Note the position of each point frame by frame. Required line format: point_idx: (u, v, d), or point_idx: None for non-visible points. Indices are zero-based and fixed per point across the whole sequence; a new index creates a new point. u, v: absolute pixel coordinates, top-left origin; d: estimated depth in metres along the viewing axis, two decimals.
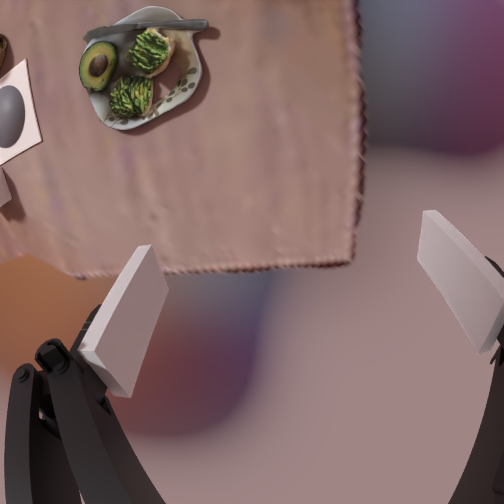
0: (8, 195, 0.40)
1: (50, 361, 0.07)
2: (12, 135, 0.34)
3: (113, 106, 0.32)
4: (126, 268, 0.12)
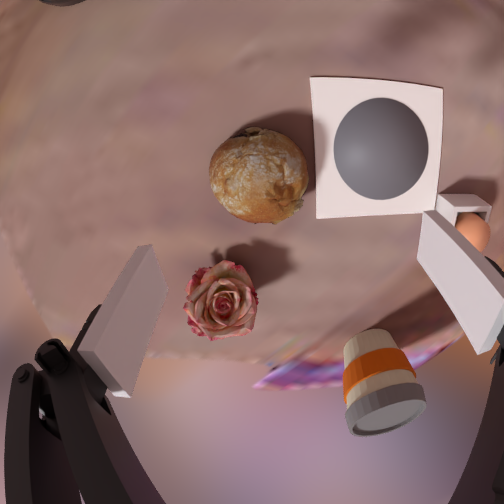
0: (473, 195, 0.30)
1: (50, 362, 0.07)
2: (417, 142, 0.27)
3: None
4: (126, 268, 0.12)
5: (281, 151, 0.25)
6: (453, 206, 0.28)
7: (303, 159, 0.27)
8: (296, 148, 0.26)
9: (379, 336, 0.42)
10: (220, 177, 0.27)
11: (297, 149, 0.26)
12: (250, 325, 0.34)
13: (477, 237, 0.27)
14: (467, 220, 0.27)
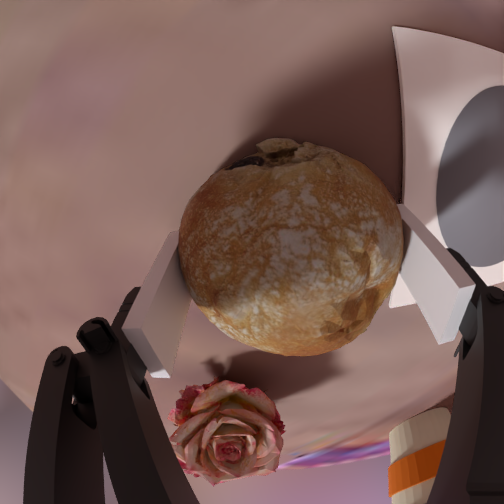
0: None
1: (93, 340, 0.08)
2: None
3: None
4: (162, 251, 0.12)
5: (364, 211, 0.09)
6: None
7: (401, 221, 0.10)
8: (390, 196, 0.10)
9: (438, 420, 0.25)
10: (201, 281, 0.10)
11: (391, 198, 0.10)
12: (273, 466, 0.18)
13: None
14: None
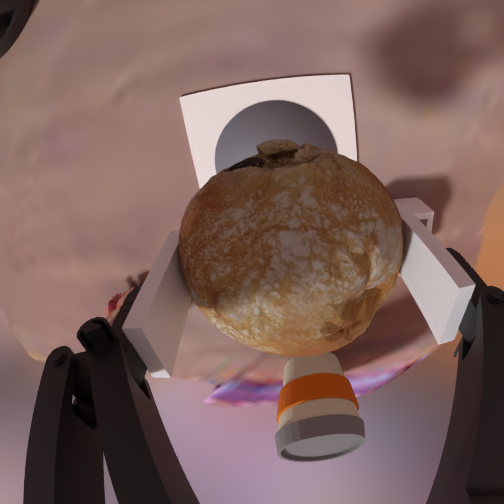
0: (412, 199, 0.28)
1: (93, 340, 0.08)
2: (320, 145, 0.26)
3: None
4: (162, 251, 0.12)
5: (364, 212, 0.09)
6: None
7: (401, 222, 0.11)
8: (389, 197, 0.10)
9: (317, 359, 0.40)
10: (202, 282, 0.10)
11: (391, 200, 0.10)
12: None
13: None
14: None
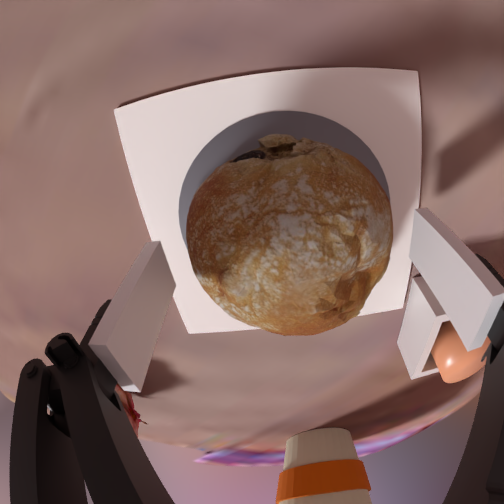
0: None
1: (61, 356, 0.07)
2: None
3: None
4: (135, 263, 0.12)
5: (355, 198, 0.10)
6: (435, 313, 0.15)
7: (391, 210, 0.12)
8: (379, 187, 0.11)
9: (326, 440, 0.29)
10: (208, 262, 0.12)
11: (381, 189, 0.11)
12: None
13: (473, 358, 0.14)
14: None
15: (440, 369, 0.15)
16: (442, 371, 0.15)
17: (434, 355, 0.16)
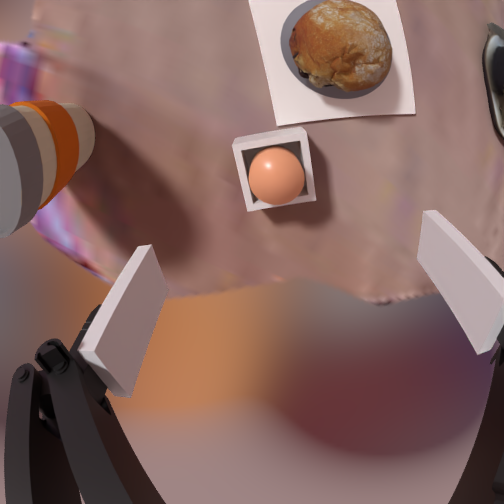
0: None
1: (50, 362, 0.07)
2: None
3: None
4: (126, 268, 0.12)
5: (387, 64, 0.20)
6: (306, 132, 0.25)
7: (372, 85, 0.22)
8: (382, 79, 0.22)
9: (87, 132, 0.27)
10: (355, 7, 0.17)
11: (381, 80, 0.22)
12: None
13: (280, 178, 0.25)
14: (295, 157, 0.25)
15: (266, 152, 0.25)
16: (267, 153, 0.24)
17: (265, 150, 0.26)
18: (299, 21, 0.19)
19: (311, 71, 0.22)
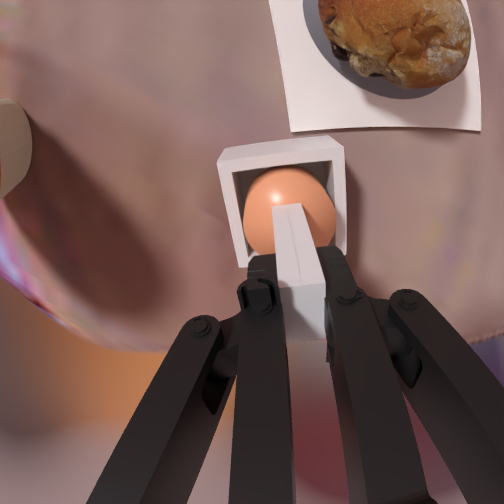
0: None
1: (254, 299, 0.08)
2: None
3: None
4: (276, 222, 0.13)
5: (468, 54, 0.10)
6: (342, 147, 0.15)
7: (443, 83, 0.12)
8: (457, 76, 0.12)
9: (18, 138, 0.16)
10: None
11: (455, 77, 0.12)
12: None
13: None
14: (322, 187, 0.15)
15: (275, 178, 0.14)
16: (277, 180, 0.14)
17: (273, 172, 0.16)
18: None
19: (357, 46, 0.11)
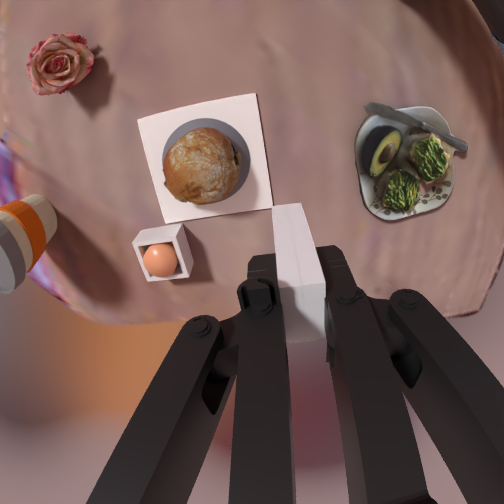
0: (191, 259, 0.45)
1: (254, 299, 0.08)
2: None
3: (388, 198, 0.37)
4: (276, 222, 0.13)
5: (226, 187, 0.34)
6: (176, 235, 0.39)
7: (220, 200, 0.36)
8: (228, 195, 0.36)
9: (50, 220, 0.40)
10: (200, 143, 0.31)
11: (227, 195, 0.36)
12: (42, 92, 0.25)
13: (160, 263, 0.40)
14: (170, 248, 0.40)
15: (151, 247, 0.40)
16: (151, 248, 0.39)
17: None
18: (165, 156, 0.34)
19: None
